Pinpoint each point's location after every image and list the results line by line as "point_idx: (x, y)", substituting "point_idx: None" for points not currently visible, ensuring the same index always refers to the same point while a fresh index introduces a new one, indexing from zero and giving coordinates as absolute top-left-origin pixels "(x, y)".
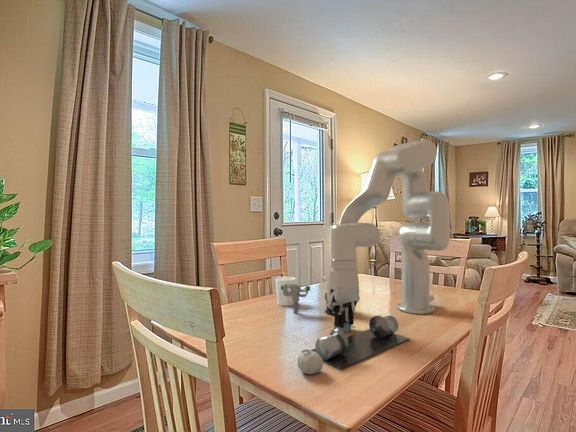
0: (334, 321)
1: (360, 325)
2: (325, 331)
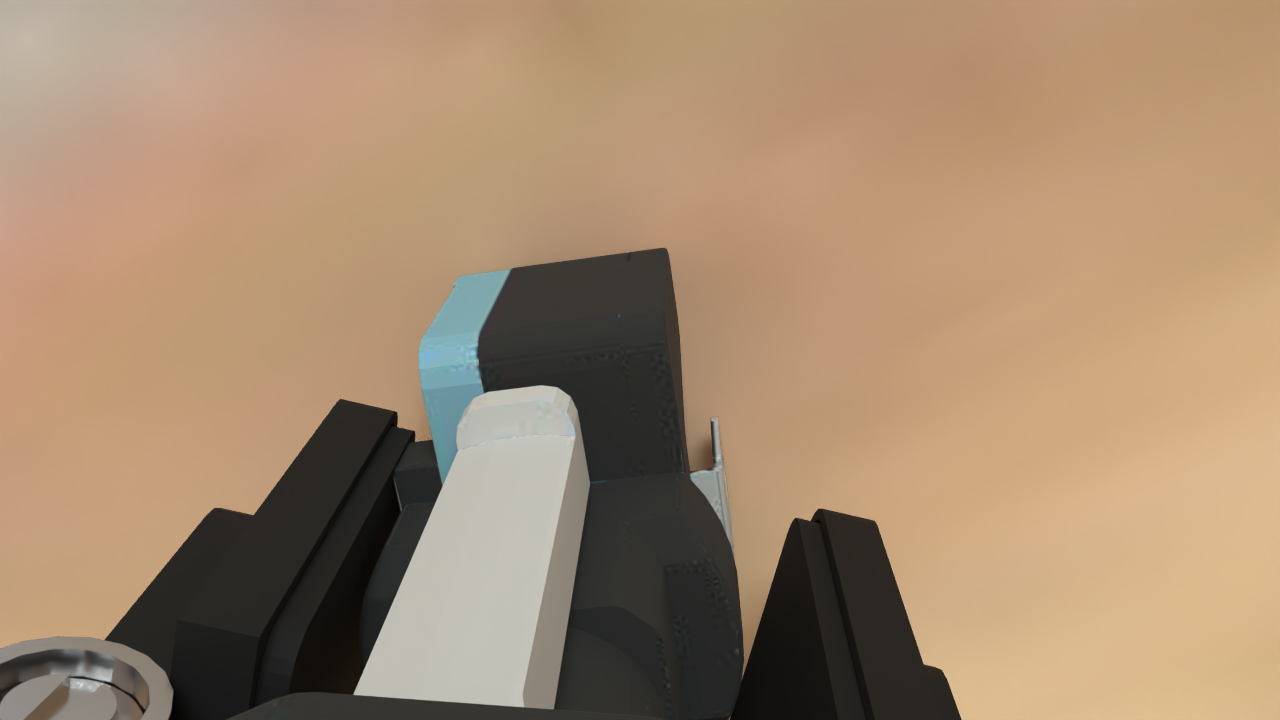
0: (425, 360)
1: (1219, 677)
2: (183, 131)
